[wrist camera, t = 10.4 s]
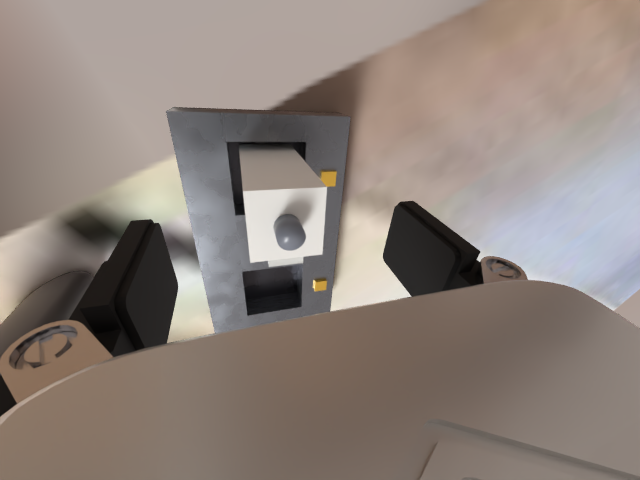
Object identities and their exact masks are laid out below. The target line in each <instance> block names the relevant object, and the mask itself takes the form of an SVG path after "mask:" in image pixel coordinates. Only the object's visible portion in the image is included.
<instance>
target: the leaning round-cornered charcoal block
mask: <svg viewBox="0 0 640 480" xmlns="http://www.w3.org/2000/svg"><path fill="white" fill-rule="evenodd" d="M92 280H93V276H92V275H91V274H90V273H88V272H84V271H77V272H71V273H67V274H64V275H61V276H59V277H57V278H55V279H53V280H51V281H49V282H47V283H45V284H44V285H42V286H41V287H39V288H38V289H36V290H35V291H34V292H32V293H31V294H30V295H29V296H28V297H26V298H25V299H24V300H23V301H22V302H21V303H20V304H19V305H18V307H17V308H16V309H15V310H14V311H13V312H12V313H11V314H10V315H9V316H8V317H7V318H6V319H5V321H4V322H3V323H2V324H1V325H0V359H1V356H2V354H3V353H4V352H5V351H6V350H7V349H8V348H9V346H10V345H12V344H13V343H14V342H15V341H17V340H18V339H19V338H20V337H22V336H24V335H25V334H27V333H29V332H30V331H32V330H34V329H36V328H39V327H41V326H43V325H46V324H49V323H53V322H56V321H63V320H69V318H70V316H71V315H72V313H73V311H74V310H75V308H76V306H77V305H78V303H79V302H80V300H81V298H82V297H83V295H84V293H85V292H86V290H87V288H88V287H89V285H90V283H91V282H92ZM0 375H1V373H0Z"/></svg>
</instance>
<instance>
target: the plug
mask: <svg viewBox="0 0 640 480" xmlns="http://www.w3.org/2000/svg"><path fill="white" fill-rule="evenodd" d="M239 155H240V165H241V176H242V187H243V198H244V207H245V217H246V227H247V236H248V246H249V256H250V263H253V262H262V261H268V265H269V267H273V266H282V265H290V264H298V263H303V257H305V256H314V255H322V254H323V239H324V225H325V210H326V196H327V187H326V185H325V184H324V183H323V182H322V181H321V180H320V178H319V177H318V176H317V175H316V174H315V172H314V171H313V170H312V169H311V168H310V167H309V165H308V164H307V163H306V162H305V161H304V160H303V158H302V157H301V156H300V155H299V154H298V153H297V151H296V150H295V149H294V148H293V147H292V146H291V144H239Z"/></svg>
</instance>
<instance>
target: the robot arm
mask: <svg viewBox="0 0 640 480" xmlns="http://www.w3.org/2000/svg"><path fill="white" fill-rule="evenodd" d="M479 253H480V251H479V250H478V249H476V248H475V247H474V246H472V245H471V244H470V243H469V242H467V241H466V240H465V239H463V238H462V237H461V236H459V235H458V234H457V233H455V232H454V231H453V230H451V229H450V228H449V227H447V226H446V225H445V224H443V223H442V222H441V221H439V220H438V219H437V218H435V217H434V216H433V215H431V214H430V213H429V212H427V211H426V210H425V209H423V208H422V207H421V206H419V205H418V204H417V203H415V202H414V201H405V202H400V203H399V204H398V205H397V206H395V208H394V212H393V216H392V220H391V224H390V228H389V232H388V236H387V240H386V245H385V249H384V253H383V259H384V261H385V263H386V264H387V265H388V267H389V268H390V269H391V271H392V272H393V273H394V274H395V276H396V277H397V278H398V280H399V281H400V282H401V283H402V285H403V286H404V287H405V288H406V290H407V291H408V292H409V294H410V295H411V296H412V297H407V298H401V299H396V300H390V301H385V302H379V303H374V304H368V305H363V306H358V307H352V308H347V309H341V310H336V311H331V312H325V313H320V314H314V315H309V316H304V317H299V318H293V319H288V320H283V321H278V322H272V323H267V324H262V325H257V326H251V327H246V328H241V329H236V330H230V331H225V332H220V333H215V334H209V335H204V336H199V337H194V338H189V339H185V340H180V341H176V342H171V343H167V339H168V335H169V330H170V325H171V320H172V316H173V311H174V306H175V301H176V297H177V292H178V282H177V279H176V275H175V272H174V269H173V265H172V262H171V259H170V256H169V252H168V249H167V246H166V242H165V239H164V236H163V233H162V229H161V226H160V224H159V223H154V222H153V221H152V220H151V219H150V220H136V221H131V222H130V224H129V225H128V227H127V229H126V230H125V232H124V234H123V236H122V237H121V239H120V241H119V242H118V244H117V246H116V247H115V249H114V251H113V252H112V254H111V256H110V258H109V259H108V261H105V262H104V263H103V264H102V265H101V267H100V269H99V270H98V272H97V274H96V275H95V277H94V278H93V280H92V282H91V283H90V285H89V287H88V288H87V290H86V292H85V293H84V295H83V297H82V298H81V300H80V302H79V303H78V305H77V306H76V308H75V310H74V311H73V313H72V315H71V316H70V318H69V320H63V321H56V322H53V323H49V324H46V325H43V326H41V327H39V328H36V329H34V330H32V331H30V332H29V333H27V334H25V335H24V336H22V337H20V338H19V339H18V340H17V341H15V342H14V343H13V344H12V345H10V346H9V348H8V349H7V350H6V351H5V352H4V353H3V354H2V356H1V359H0V373H1V375H0V480H640V328H639V327H637V326H636V325H634V324H633V323H631V322H630V321H628V320H627V319H625V318H623V317H622V316H620V315H619V314H617V313H615V312H614V311H612V310H611V309H609V308H608V307H606V306H604V305H603V304H601V303H600V302H598V301H596V300H595V299H593V298H591V297H590V296H588V295H586V294H584V293H583V292H581V291H579V290H577V289H574V288H571V287H568V286H565V285H561V284H556V283H551V282H544V281H535V280H528V279H527V276H526V274H525V272H524V271H523V270H522V269H521V268H520V267H519V266H517V265H516V264H514V263H513V262H510V261H508V260H506V259H503V258H500V257H494V256H488V257H484V258H483V259H482V260H481V261H480V262H479V261H477V260H476V259H477V257H478V255H479Z"/></svg>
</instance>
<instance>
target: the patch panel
mask: <svg viewBox="0 0 640 480" xmlns="http://www.w3.org/2000/svg"><path fill="white" fill-rule="evenodd" d="M166 113H167V118H168V122H169V127H170V131H171V136H172V141H173V145H174V150H175V154H176V159H177V163H178V168H179V172H180V177H181V181H182V186H183V190H184V195H185V199H186V204H187V209H188V213H189V218H190V222H191V227H192V231H193V236H194V240H195V245H196V249H197V254H198V258H199V263H200V267H201V272H202V276H203V281H204V286H205V290H206V295H207V299H208V304H209V308H210V313H211V317H212V322H213V326H214V331H215V333H220V332H225V331H230V330H236V329H241V328H246V327H251V326H257V325H262V324H267V323H272V322H278V321H283V320H288V319H293V318H299V317H304V316H309V315H314V314H320V313H325V312H330V307H331V298H332V288H333V279H334V269H335V260H336V250H337V241H338V231H339V222H340V212H341V203H342V193H343V184H344V174H345V164H346V155H347V145H348V136H349V126H350V116H347V115H344V114H341V113H329V112H300V111H270V110H241V109H238V110H237V109H211V108H182V107H179V108H178V107H173V108H171V109H169V110H167V111H166ZM239 144H291V146H292V147H293V148H294V149H295V150H296V151H297V153H298V154H299V155H300V156H301V157H302V158H303V160H304V161H305V162H306V163H307V164H308V165H309V167H310V168H311V169H312V170H313V171H314V172H315V174H316V175H317V176H318V177H319V178H320V180H321V181H322V182H323V183H324V184H325V185H326V187H327V196H326V210H325V225H324V239H323V254H322V255H314V256H305V257H303V263H298V264H290V265H282V266H273V267H269V265H268V261H262V262H253V263H250V256H249V246H248V236H247V227H246V217H245V207H244V198H243V187H242V176H241V165H240V155H239Z"/></svg>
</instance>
